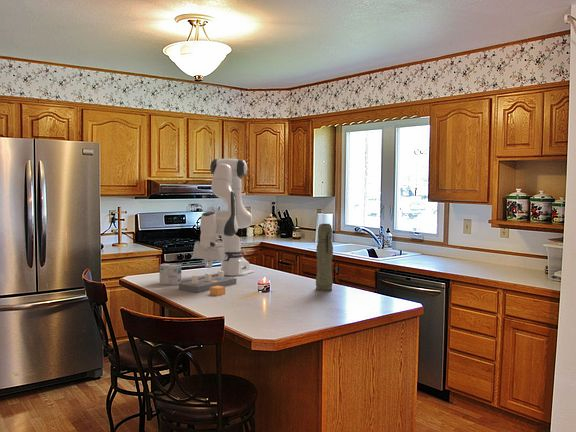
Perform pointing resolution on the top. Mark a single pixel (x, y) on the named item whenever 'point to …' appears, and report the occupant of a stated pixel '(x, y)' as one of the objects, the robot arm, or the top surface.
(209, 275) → the tagged breaker
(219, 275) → the inner breaker
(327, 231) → the thermos
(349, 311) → the top surface
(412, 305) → the top surface
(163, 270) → the light bulb box
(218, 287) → the lockout cap
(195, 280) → the outer breaker
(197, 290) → the breaker panel
